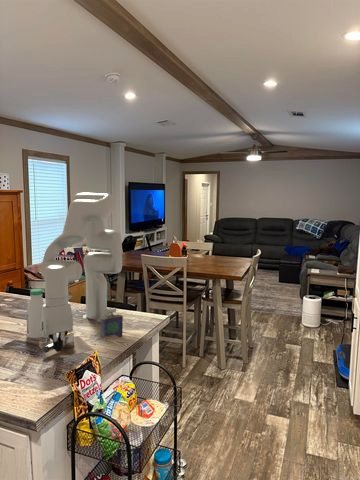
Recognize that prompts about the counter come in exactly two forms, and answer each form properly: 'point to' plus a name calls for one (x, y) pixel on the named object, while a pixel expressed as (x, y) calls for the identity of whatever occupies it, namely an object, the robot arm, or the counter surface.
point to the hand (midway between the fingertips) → (58, 350)
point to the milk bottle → (35, 314)
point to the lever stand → (53, 354)
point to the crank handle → (67, 343)
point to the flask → (112, 325)
